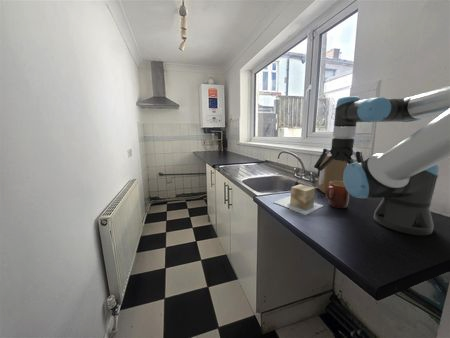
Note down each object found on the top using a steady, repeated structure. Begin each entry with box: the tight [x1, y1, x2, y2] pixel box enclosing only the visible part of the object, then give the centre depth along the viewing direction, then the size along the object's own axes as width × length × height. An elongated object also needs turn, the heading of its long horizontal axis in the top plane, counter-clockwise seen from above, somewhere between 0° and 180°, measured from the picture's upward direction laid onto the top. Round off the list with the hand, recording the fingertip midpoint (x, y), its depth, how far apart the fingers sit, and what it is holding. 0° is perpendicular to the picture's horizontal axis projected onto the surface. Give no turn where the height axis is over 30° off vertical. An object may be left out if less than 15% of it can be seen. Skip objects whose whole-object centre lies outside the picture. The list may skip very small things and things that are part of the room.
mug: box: [325, 181, 350, 209], centre depth 80 cm, size 12×9×10 cm
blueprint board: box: [273, 195, 324, 216], centre depth 83 cm, size 16×14×1 cm
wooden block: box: [316, 153, 348, 195], centre depth 98 cm, size 10×10×20 cm
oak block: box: [290, 184, 316, 209], centre depth 81 cm, size 7×7×8 cm
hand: (336, 187), depth 79 cm, fingers open, 13 cm apart
